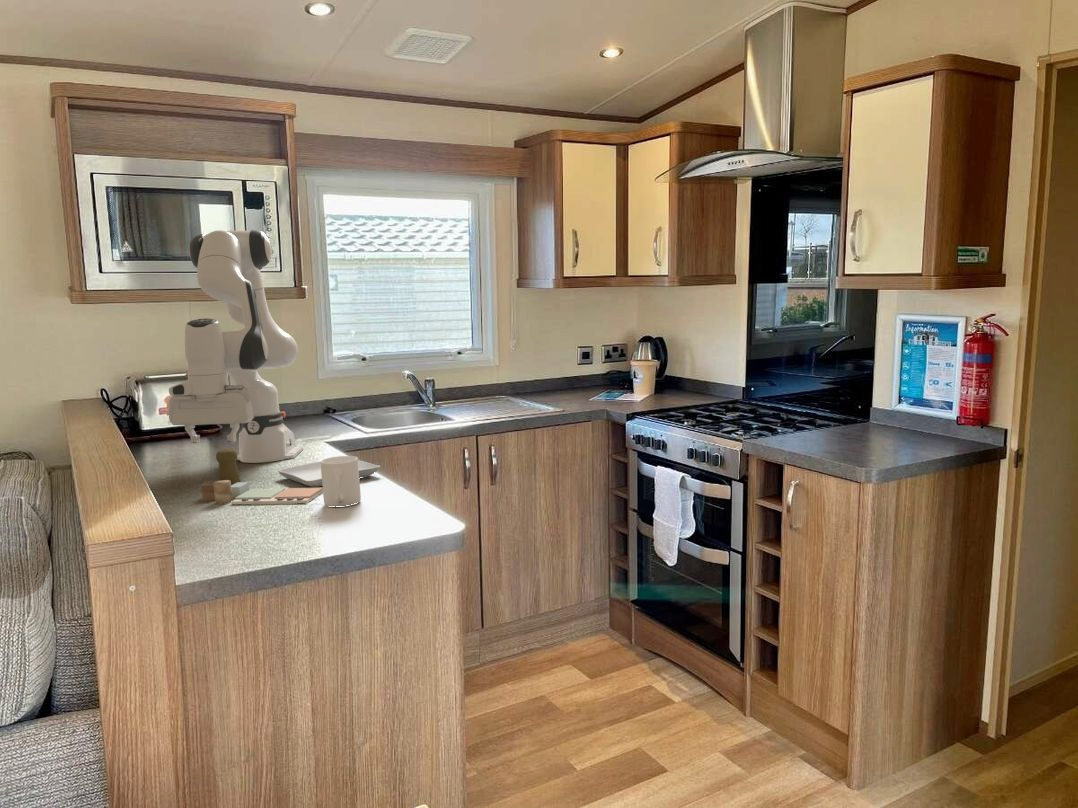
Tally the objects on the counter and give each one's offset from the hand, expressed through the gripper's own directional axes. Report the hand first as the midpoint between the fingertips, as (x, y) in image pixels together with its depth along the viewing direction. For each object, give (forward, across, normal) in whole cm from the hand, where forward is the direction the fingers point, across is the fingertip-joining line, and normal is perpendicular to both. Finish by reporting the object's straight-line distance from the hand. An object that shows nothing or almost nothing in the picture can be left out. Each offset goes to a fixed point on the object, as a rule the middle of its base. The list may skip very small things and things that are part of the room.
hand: (213, 442), depth 196 cm
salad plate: (+15, -19, -24) cm, 34 cm away
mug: (+15, -33, +4) cm, 37 cm away
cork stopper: (+15, -1, 0) cm, 15 cm away
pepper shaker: (+15, +3, -11) cm, 19 cm away
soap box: (+15, -2, -6) cm, 16 cm away
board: (+15, -14, -3) cm, 21 cm away
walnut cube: (+15, +4, -4) cm, 16 cm away
